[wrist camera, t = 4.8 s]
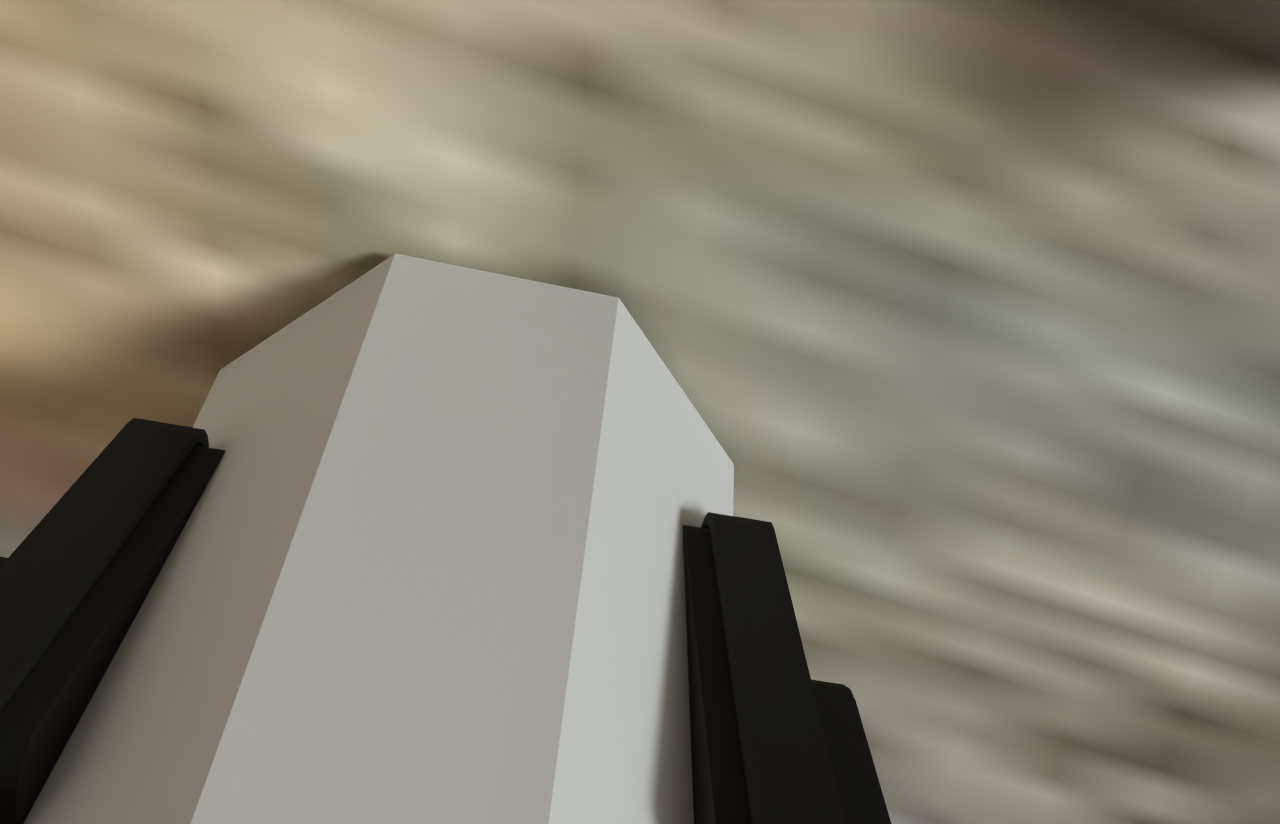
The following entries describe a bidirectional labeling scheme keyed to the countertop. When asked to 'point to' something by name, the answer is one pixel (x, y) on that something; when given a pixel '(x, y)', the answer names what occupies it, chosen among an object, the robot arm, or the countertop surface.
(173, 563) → the pepper shaker
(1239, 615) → the countertop surface
